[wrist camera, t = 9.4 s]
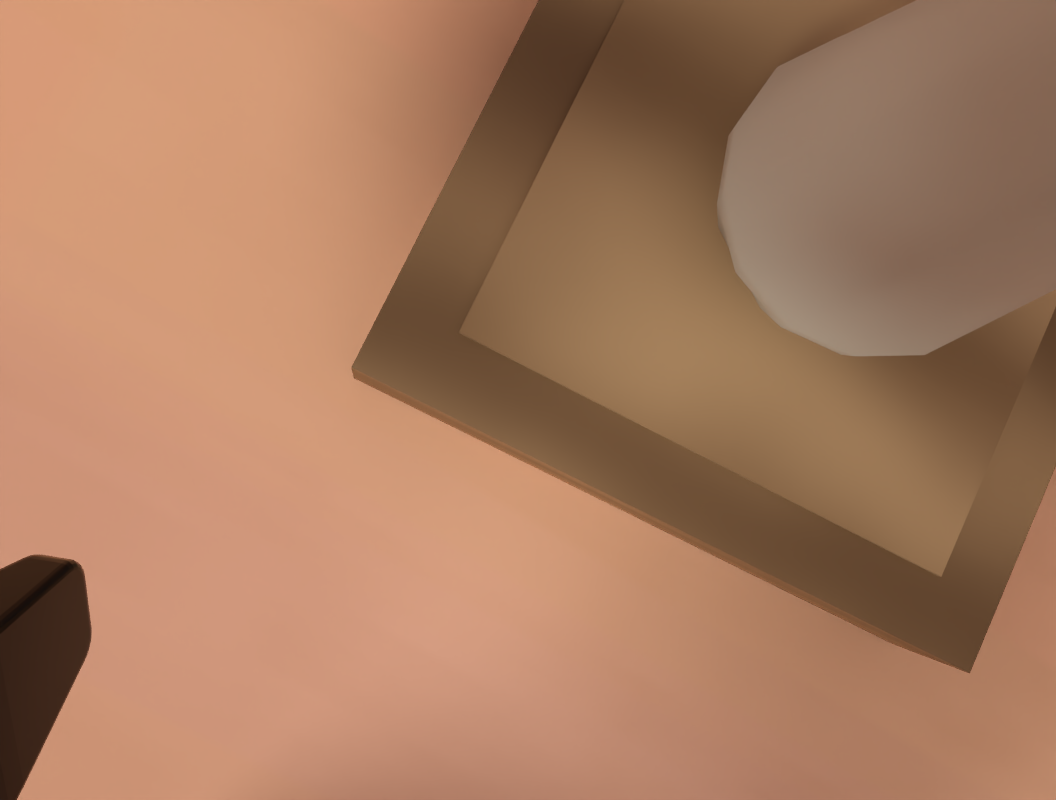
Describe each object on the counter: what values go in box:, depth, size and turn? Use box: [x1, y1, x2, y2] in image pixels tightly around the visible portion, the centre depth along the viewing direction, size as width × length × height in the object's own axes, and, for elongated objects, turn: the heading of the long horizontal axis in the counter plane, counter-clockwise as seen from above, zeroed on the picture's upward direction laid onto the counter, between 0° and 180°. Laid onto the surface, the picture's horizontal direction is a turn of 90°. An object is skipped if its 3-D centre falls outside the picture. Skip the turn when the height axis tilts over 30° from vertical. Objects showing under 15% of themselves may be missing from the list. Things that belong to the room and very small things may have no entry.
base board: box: [352, 0, 1056, 673], centre depth 21 cm, size 14×14×3 cm
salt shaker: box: [717, 0, 1056, 356], centre depth 13 cm, size 6×6×13 cm
